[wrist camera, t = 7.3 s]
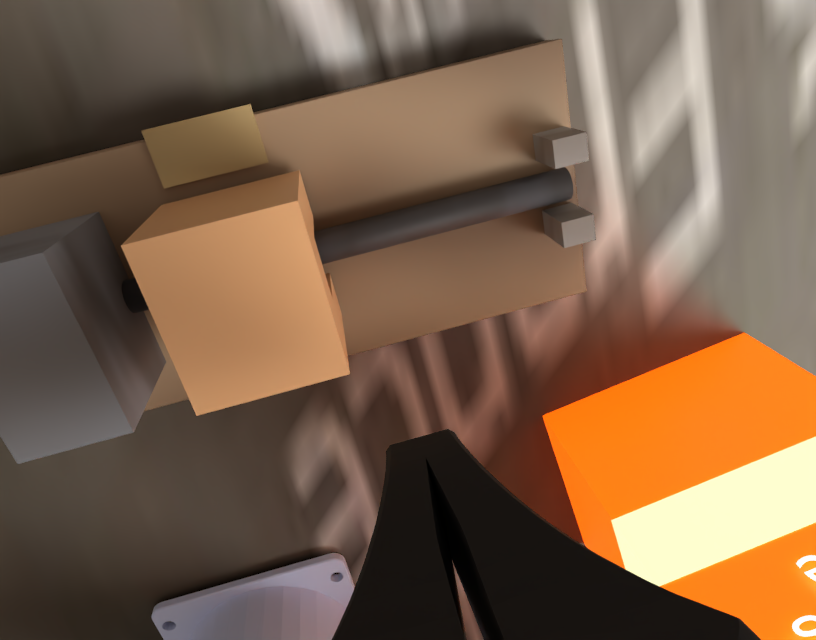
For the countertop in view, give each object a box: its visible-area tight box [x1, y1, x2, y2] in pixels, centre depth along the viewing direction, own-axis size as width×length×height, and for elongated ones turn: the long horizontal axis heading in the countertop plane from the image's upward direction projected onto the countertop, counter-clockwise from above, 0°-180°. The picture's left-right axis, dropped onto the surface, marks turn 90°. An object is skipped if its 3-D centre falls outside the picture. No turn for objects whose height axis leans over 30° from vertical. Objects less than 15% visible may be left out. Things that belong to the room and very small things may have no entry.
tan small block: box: [121, 170, 350, 416], centre depth 16 cm, size 5×4×4 cm
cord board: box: [0, 39, 596, 464], centre depth 17 cm, size 9×17×5 cm, turn 102°
